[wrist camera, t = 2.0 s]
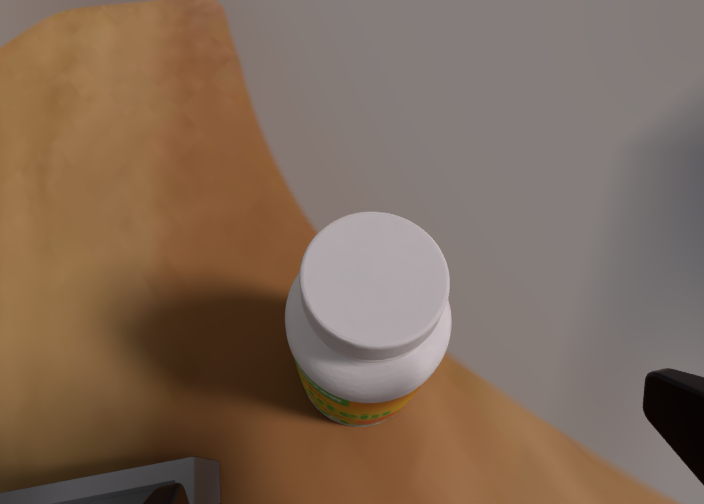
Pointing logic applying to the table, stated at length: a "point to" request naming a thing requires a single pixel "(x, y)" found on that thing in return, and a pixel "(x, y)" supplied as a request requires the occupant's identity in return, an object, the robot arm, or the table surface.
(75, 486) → the trough tray
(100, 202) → the table surface
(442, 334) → the supplement bottle
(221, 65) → the table surface
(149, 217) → the table surface
